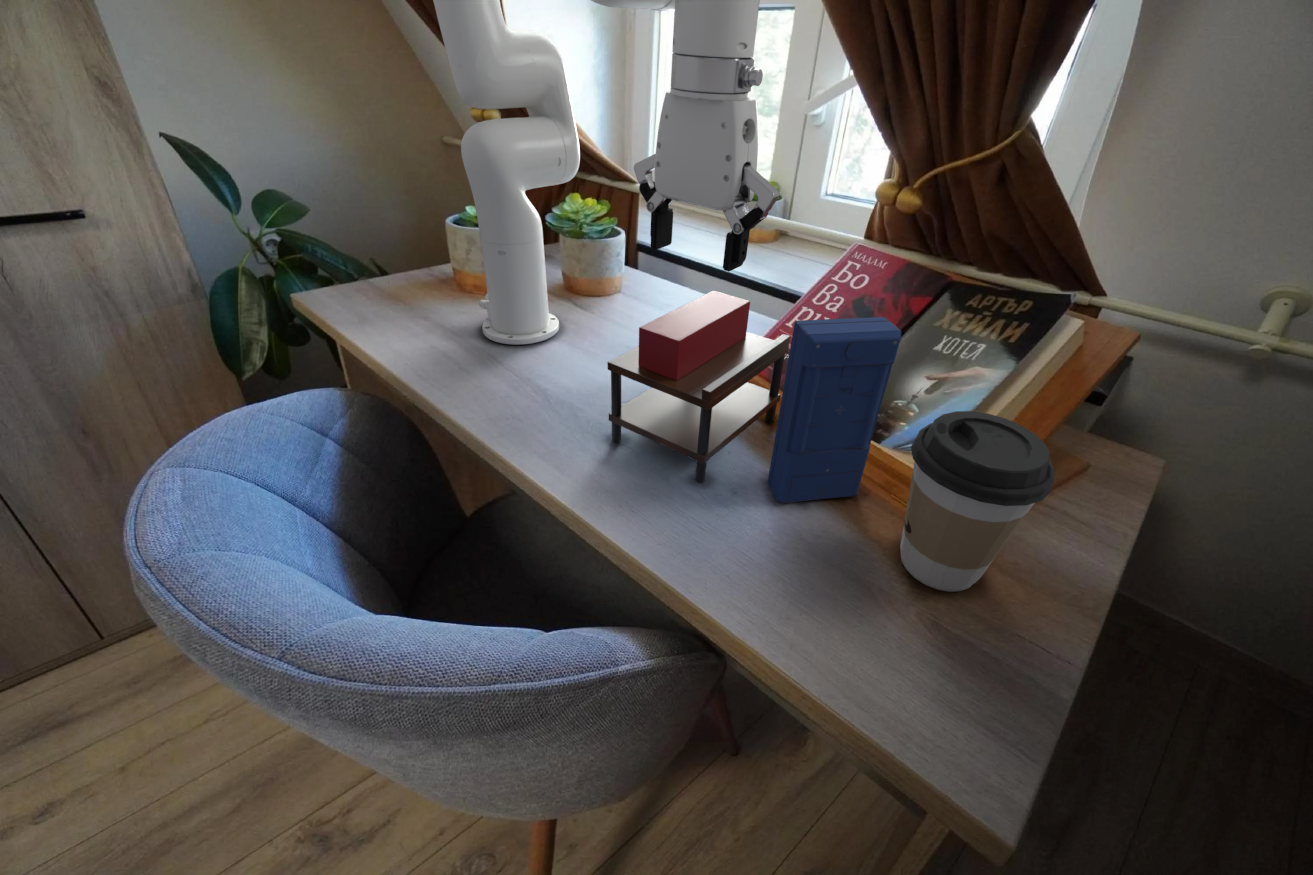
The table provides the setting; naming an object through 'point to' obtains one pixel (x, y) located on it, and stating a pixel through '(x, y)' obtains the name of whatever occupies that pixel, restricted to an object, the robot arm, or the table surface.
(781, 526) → the table surface
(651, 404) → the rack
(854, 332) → the electronic device
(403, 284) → the table surface
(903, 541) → the coffee cup
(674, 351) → the red rectangular block
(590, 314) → the table surface
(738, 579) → the table surface
